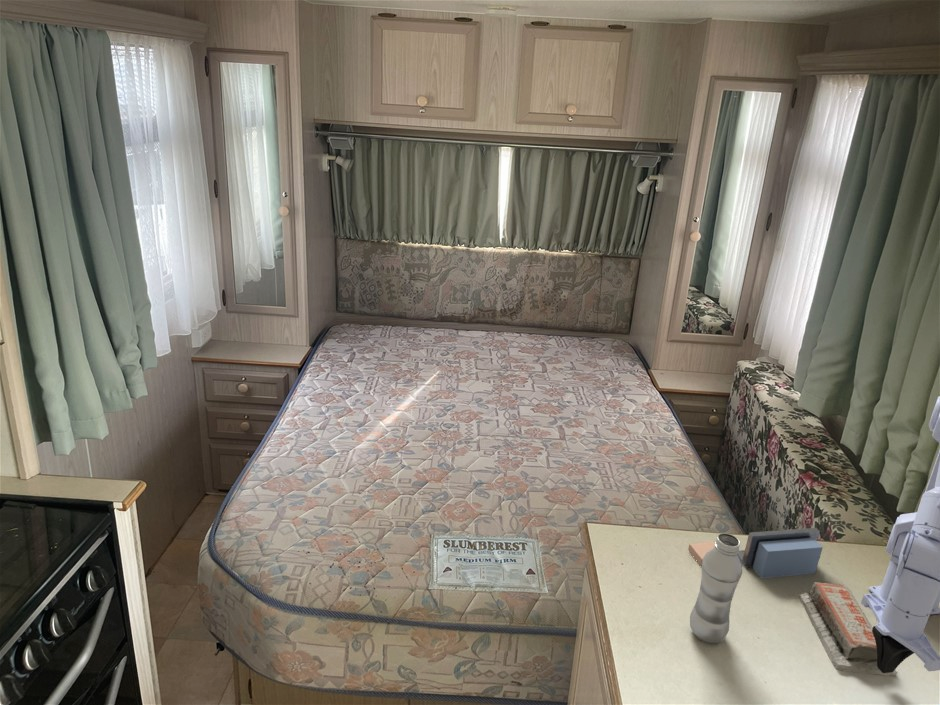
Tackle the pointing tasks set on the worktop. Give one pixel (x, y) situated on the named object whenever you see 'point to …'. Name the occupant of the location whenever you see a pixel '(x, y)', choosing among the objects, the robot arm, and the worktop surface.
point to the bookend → (755, 537)
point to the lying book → (700, 550)
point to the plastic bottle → (717, 589)
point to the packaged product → (842, 628)
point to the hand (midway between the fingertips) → (885, 669)
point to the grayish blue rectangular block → (787, 557)
